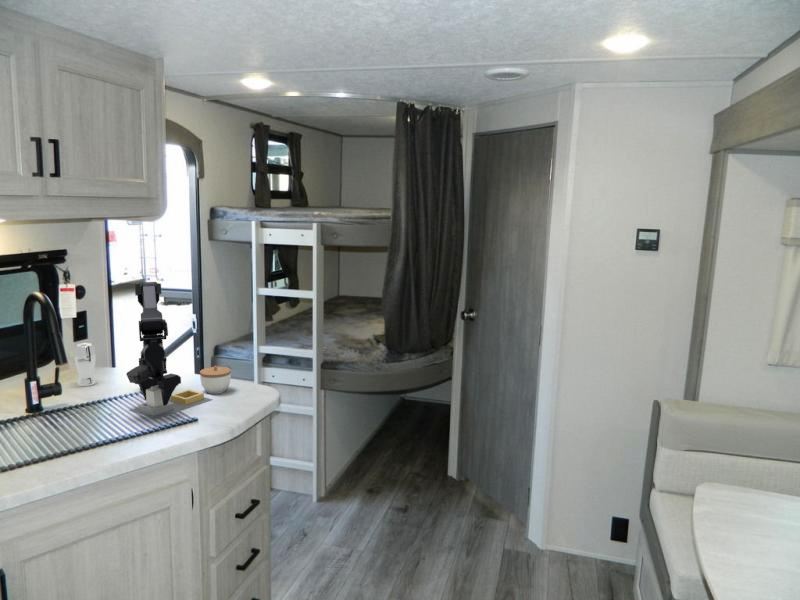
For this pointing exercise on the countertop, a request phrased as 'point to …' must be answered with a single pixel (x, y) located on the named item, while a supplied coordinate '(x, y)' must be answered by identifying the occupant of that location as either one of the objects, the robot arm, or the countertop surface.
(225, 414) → the countertop surface
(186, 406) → the multicoloured flat piece
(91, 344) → the beer glass
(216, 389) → the lidded jar
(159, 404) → the plug
